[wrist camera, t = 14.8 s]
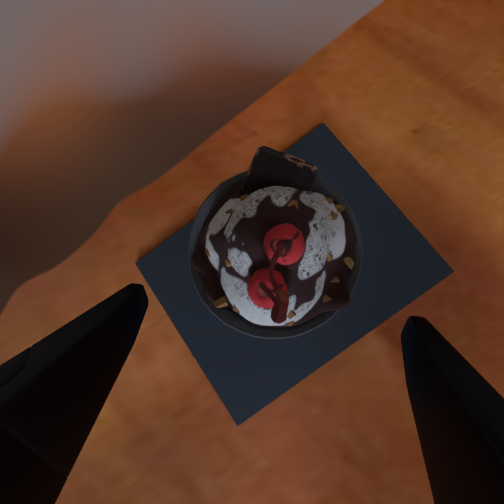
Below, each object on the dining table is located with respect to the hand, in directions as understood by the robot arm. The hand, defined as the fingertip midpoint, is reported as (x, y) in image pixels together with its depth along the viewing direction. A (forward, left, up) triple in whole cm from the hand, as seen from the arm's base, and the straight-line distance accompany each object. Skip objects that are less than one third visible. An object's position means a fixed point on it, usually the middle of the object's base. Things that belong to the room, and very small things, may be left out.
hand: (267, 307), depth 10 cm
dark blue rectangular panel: (+2, -1, -11) cm, 11 cm away
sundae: (+2, -1, -11) cm, 11 cm away
